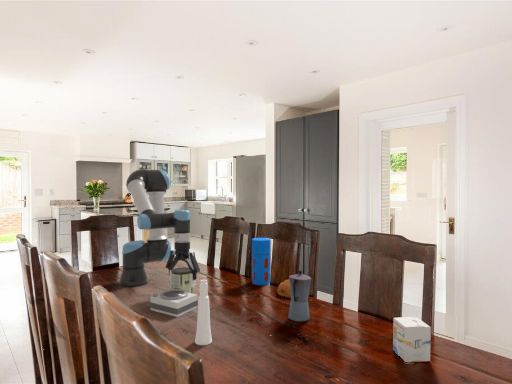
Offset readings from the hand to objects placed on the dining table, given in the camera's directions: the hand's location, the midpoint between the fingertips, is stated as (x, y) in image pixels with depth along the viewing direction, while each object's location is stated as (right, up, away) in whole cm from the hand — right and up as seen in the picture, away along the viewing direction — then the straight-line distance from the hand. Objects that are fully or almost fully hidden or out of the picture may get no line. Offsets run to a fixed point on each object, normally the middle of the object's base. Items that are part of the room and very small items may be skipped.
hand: (182, 284), depth 169 cm
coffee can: (0, -7, 0) cm, 7 cm away
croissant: (+54, -7, +8) cm, 55 cm away
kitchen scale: (-1, -7, -14) cm, 16 cm away
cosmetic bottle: (+17, -8, -47) cm, 51 cm away
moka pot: (+54, -8, -25) cm, 60 cm away
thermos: (+39, -7, +28) cm, 49 cm away
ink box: (+87, -9, -57) cm, 104 cm away
